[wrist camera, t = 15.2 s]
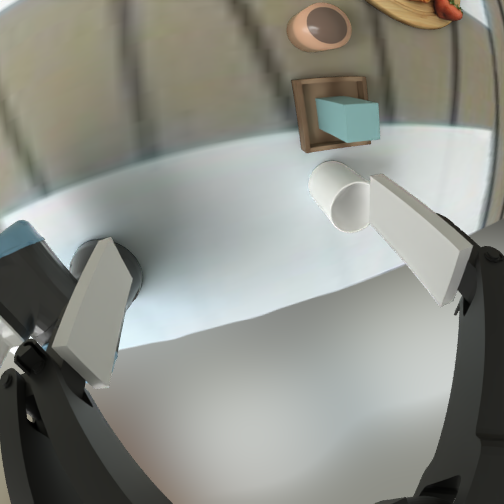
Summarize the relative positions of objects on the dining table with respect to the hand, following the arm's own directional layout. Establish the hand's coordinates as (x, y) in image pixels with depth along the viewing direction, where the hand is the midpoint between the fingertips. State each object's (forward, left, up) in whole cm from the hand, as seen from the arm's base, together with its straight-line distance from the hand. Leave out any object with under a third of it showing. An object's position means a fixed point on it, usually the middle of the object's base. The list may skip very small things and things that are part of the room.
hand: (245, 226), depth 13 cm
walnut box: (+18, 0, -31) cm, 35 cm away
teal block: (+18, -1, -30) cm, 35 cm away
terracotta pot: (+16, +13, -31) cm, 37 cm away
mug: (+18, -13, -31) cm, 38 cm away
